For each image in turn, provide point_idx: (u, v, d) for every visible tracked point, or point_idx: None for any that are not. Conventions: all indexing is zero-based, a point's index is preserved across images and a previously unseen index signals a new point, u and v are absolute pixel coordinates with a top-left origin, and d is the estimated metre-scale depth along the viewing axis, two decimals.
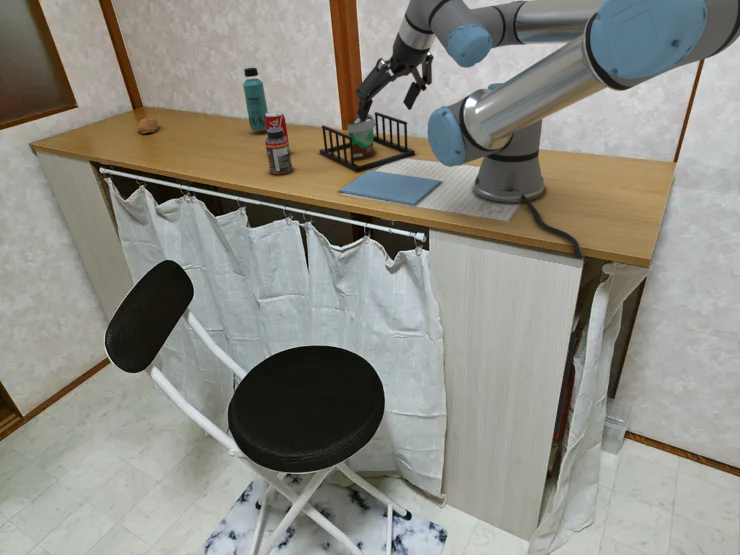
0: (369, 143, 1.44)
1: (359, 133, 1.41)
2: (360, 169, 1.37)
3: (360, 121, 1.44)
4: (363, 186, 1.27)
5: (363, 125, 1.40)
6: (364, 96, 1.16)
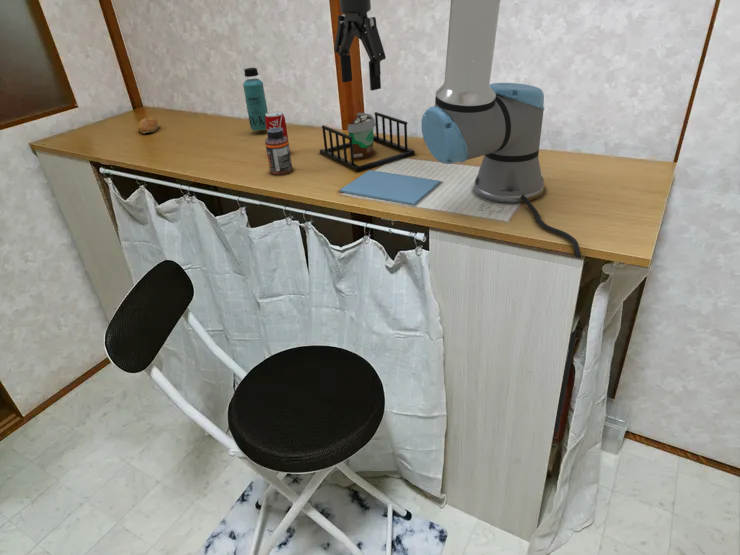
0: (369, 143, 1.44)
1: (359, 133, 1.41)
2: (360, 169, 1.37)
3: (360, 121, 1.44)
4: (363, 186, 1.27)
5: (363, 125, 1.40)
6: (335, 47, 1.40)
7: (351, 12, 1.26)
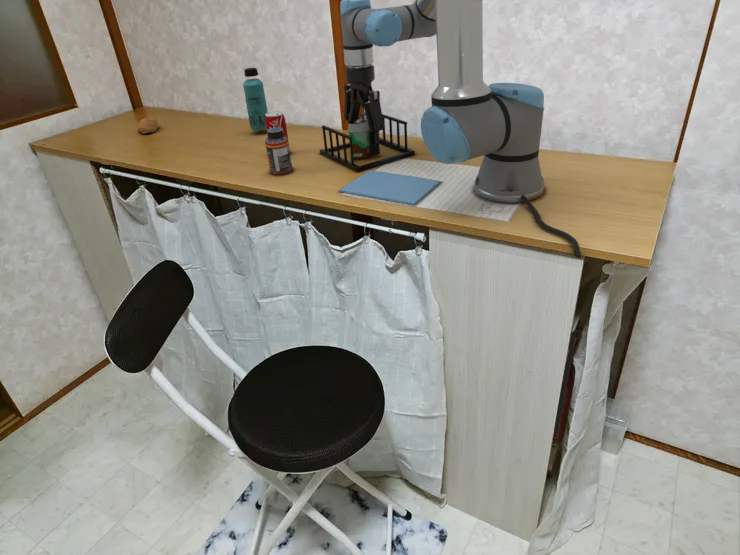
0: None
1: (359, 133, 1.41)
2: (360, 169, 1.37)
3: (362, 121, 1.43)
4: (363, 186, 1.27)
5: (363, 125, 1.40)
6: (345, 115, 1.48)
7: (356, 83, 1.35)
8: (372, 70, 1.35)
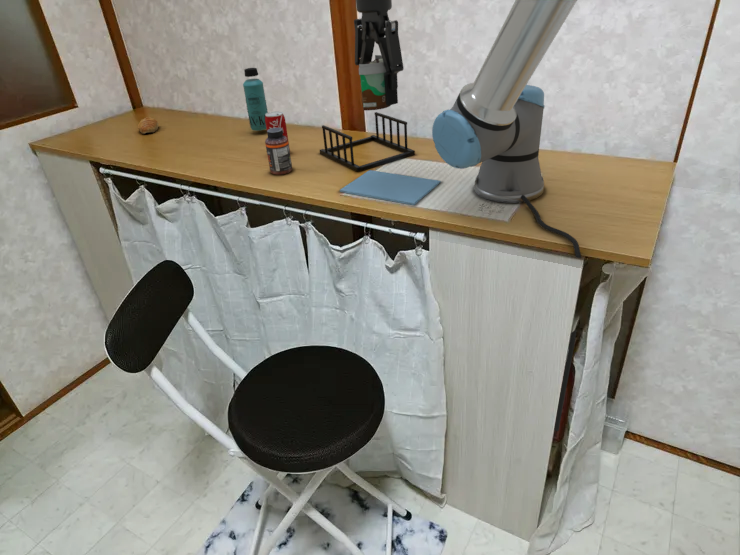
0: None
1: (373, 76, 1.15)
2: (360, 169, 1.37)
3: (376, 63, 1.18)
4: (363, 186, 1.27)
5: (378, 66, 1.14)
6: (356, 59, 1.22)
7: (369, 11, 1.09)
8: None
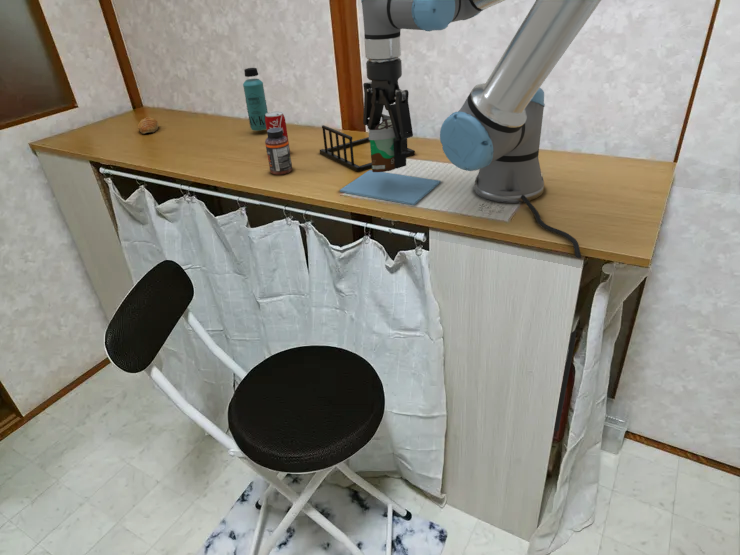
0: None
1: (382, 141, 1.16)
2: (360, 169, 1.37)
3: (385, 126, 1.19)
4: (363, 186, 1.27)
5: (388, 131, 1.15)
6: (364, 119, 1.24)
7: (380, 80, 1.11)
8: (399, 64, 1.11)
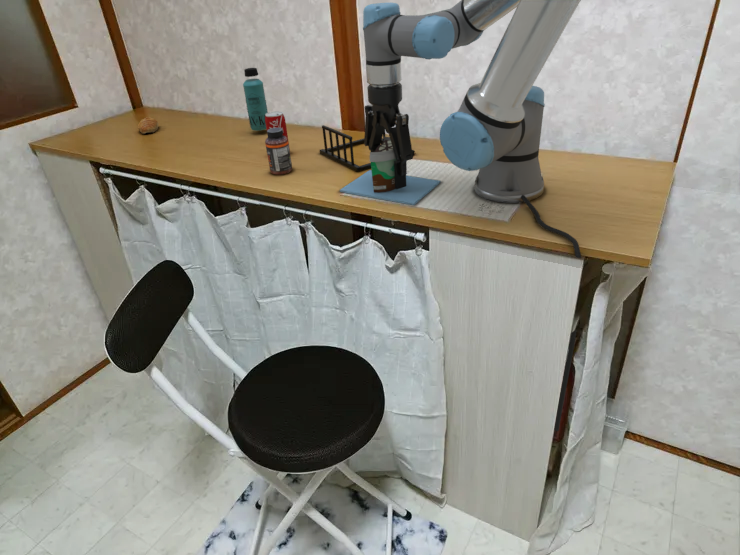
0: None
1: (383, 162, 1.19)
2: (360, 169, 1.37)
3: (386, 147, 1.22)
4: (363, 186, 1.27)
5: (388, 153, 1.18)
6: (365, 140, 1.27)
7: (381, 104, 1.13)
8: (400, 89, 1.13)
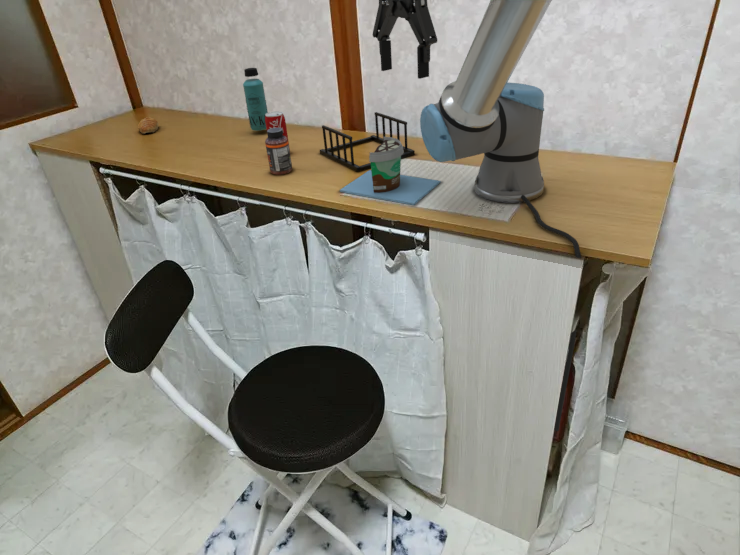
0: (395, 174, 1.22)
1: (383, 162, 1.19)
2: (360, 169, 1.37)
3: (385, 148, 1.22)
4: (363, 186, 1.27)
5: (388, 153, 1.18)
6: (374, 31, 1.25)
7: None
8: None
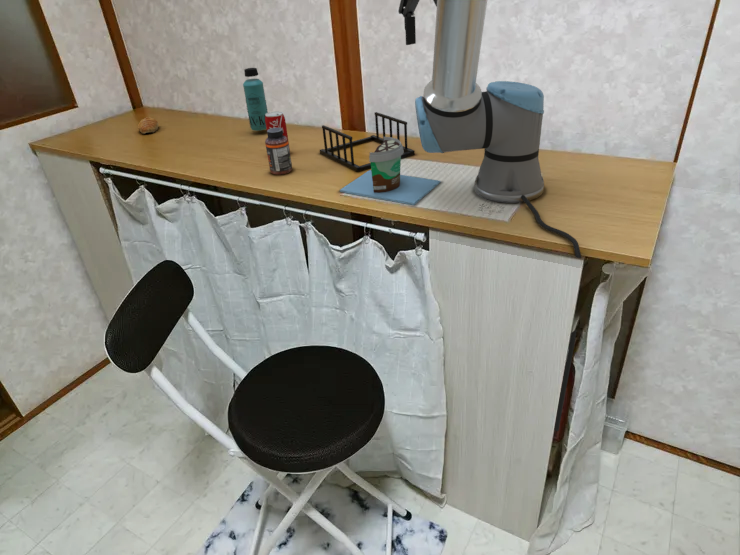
0: (395, 174, 1.22)
1: (383, 162, 1.19)
2: (360, 169, 1.37)
3: (385, 148, 1.22)
4: (363, 186, 1.27)
5: (388, 153, 1.18)
6: (400, 8, 1.36)
7: None
8: None
